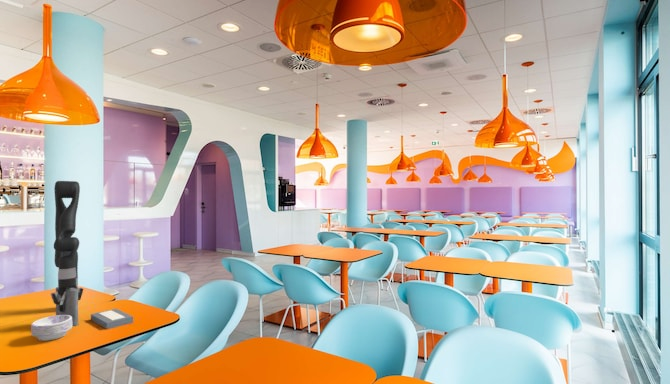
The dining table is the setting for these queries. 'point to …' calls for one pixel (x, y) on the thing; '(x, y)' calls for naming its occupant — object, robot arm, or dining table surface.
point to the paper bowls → (51, 327)
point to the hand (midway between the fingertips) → (67, 310)
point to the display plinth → (111, 318)
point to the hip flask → (69, 304)
